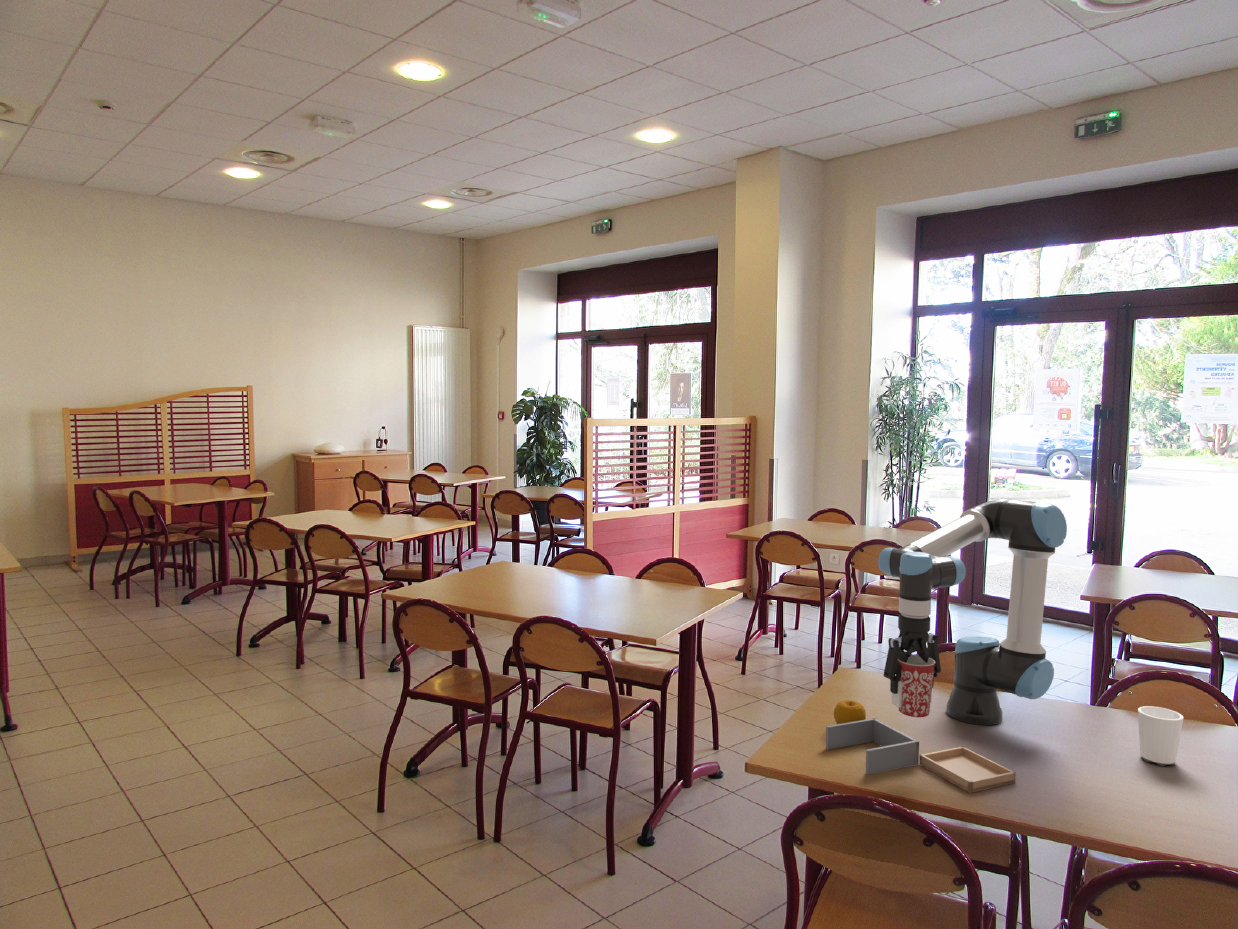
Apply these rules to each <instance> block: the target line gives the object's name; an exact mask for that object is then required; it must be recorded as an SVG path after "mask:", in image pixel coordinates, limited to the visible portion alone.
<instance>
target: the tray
mask: <svg viewBox="0 0 1238 929" xmlns="http://www.w3.org/2000/svg"><path fill="white" fill-rule="evenodd" d="M918 765H919V766H921V767H923V768H925V769H927V770H929V771H930V772H932V773H934V774H936V775H938V776H939V777H941V778H943V779H944V780H947V781H948V782H950V783H951V784H953V785H956V786H957V787H959V788H961V789H963V790H965V791H966V792H968V793H969V794H970V793H975V792H979V791H984V790H988V789H989V790H990V789H993V788H998V787H1003V786H1006V785H1011V784H1016V778H1017V777H1016V772H1015V771H1013V770H1011V769H1009V768H1007V767H1005V766H1003V765H1002V764H999V763H997V762H995V761H993V760H992V759H989V758H987V757H985V756H983V755H981V754H979V753H977V752H976V751H973V750H971V749H969V748H967V747H964V746H958V747H953V748H948V749H947V748H946V749H943V750H942V749H941V750H938V751H937V750H936V751H932V752H928V753H922V754H919V763H918Z"/></svg>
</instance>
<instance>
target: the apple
mask: <svg viewBox="0 0 1238 929" xmlns="http://www.w3.org/2000/svg"><path fill="white" fill-rule="evenodd" d="M866 714H867V712H866V708H864V706H863V704H862V703H860V702H859V701H855V700H852V699H850V700H849V699H847V700H846V699H844V700H841V701H839V702H837V704H836V705H835V708H834V710H833V718H834V721H835V723H836V725H837V724H843V723H849V722H855V721H861V720H867V719H866V718H867V715H866Z"/></svg>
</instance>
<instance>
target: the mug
mask: <svg viewBox="0 0 1238 929" xmlns="http://www.w3.org/2000/svg"><path fill="white" fill-rule="evenodd" d="M897 661H898V662H899V664H900V665H901V677H900V681H902V706H901V707H898V711H899V713H900V714H902V715H905V716H907V717H911V718H925V717H928V716H929V715H930V712H931V703H932V697H931V693H932V692H933V688H932V683H933V674H934V665H935V663H936V662H935V660H933V659H932V658H928V662H927V663H926V662H925V661H924V660H922V658H921V657H920V656H919V655H918V654H914V653H912V654H911V656H910V657H909V658H908V660H907V663H904V662H902V661H900V660H899V659H898V660H897ZM933 684H934V683H933Z"/></svg>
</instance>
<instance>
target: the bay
mask: <svg viewBox="0 0 1238 929" xmlns="http://www.w3.org/2000/svg"><path fill="white" fill-rule="evenodd" d="M825 729H826V730H825V749H826V750H828V751H829V750H833V749H839V748H845V747H849V746H850V747H851V746H855V745H860V744H867V743H875V744H877V745H879V746H880V747H874V748H868V749H865V752H866V753H865V774H866V775H869V776H870V775H873V774H877V773H883V772H889V771H893V770H898V769H899V770H900V769H902V768H907V767H908V768H909V767H913V766H917V765H919V761H920V741H919V740H917V739H915V738H914V737H911V736H910V735H908V734H906V733H904V732H902V731H900V730H899V729H897V728H894V727H893V726H891V725H890V724H887V723H886V722H883V721H881V720H879V719H877V718H874V717H873V718H869V719H866V720H861V721H855V722H849V723H843V724H837V723H836V724H833V725H827V726H826V728H825Z"/></svg>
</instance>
